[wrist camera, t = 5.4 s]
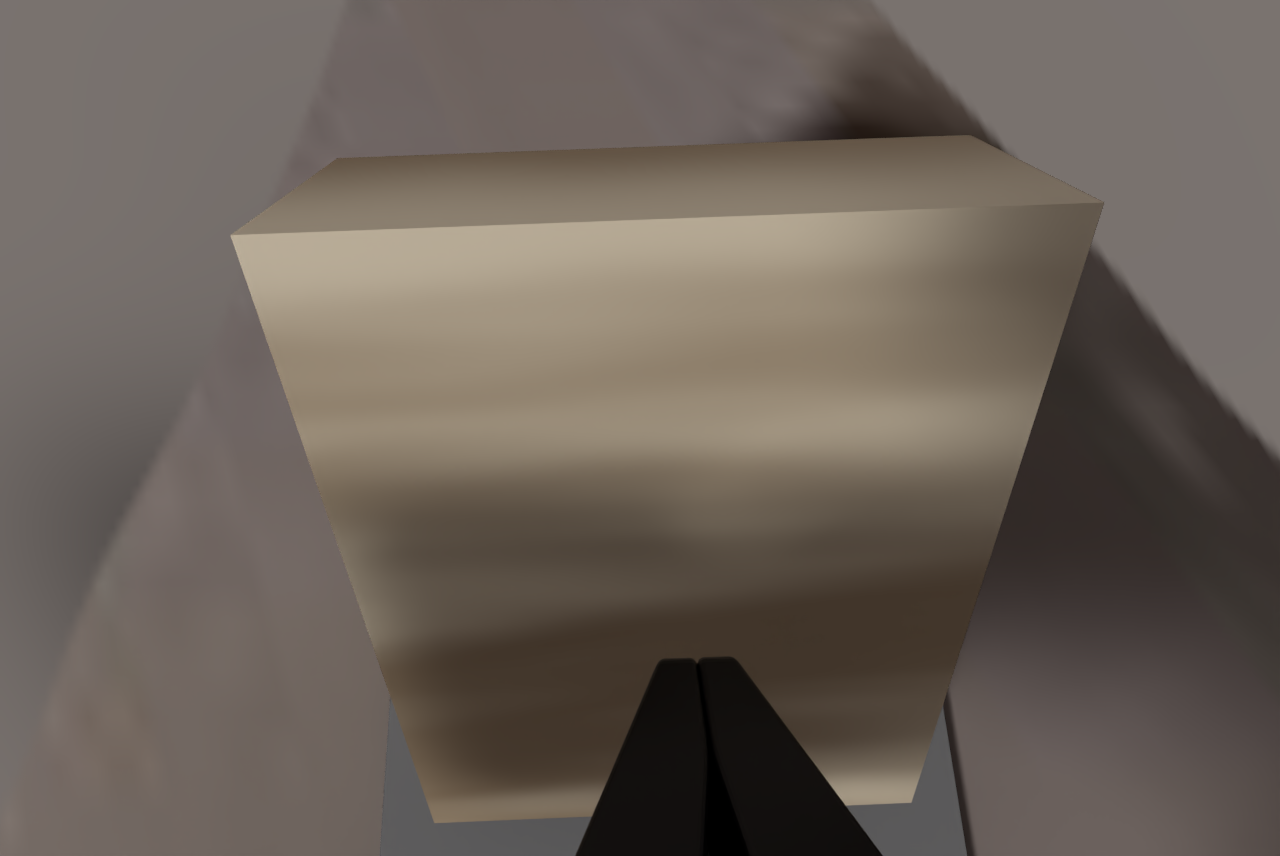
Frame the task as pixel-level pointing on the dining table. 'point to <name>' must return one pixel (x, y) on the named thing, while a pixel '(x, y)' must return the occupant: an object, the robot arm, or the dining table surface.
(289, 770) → the dining table surface
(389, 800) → the mat
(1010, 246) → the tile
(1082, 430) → the dining table surface
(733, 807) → the robot arm
